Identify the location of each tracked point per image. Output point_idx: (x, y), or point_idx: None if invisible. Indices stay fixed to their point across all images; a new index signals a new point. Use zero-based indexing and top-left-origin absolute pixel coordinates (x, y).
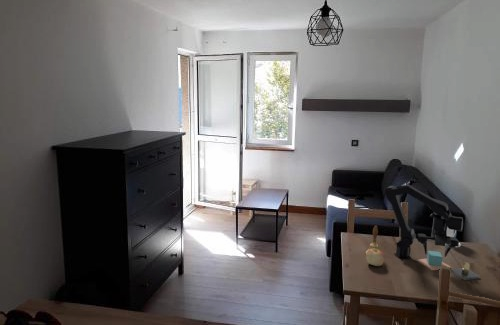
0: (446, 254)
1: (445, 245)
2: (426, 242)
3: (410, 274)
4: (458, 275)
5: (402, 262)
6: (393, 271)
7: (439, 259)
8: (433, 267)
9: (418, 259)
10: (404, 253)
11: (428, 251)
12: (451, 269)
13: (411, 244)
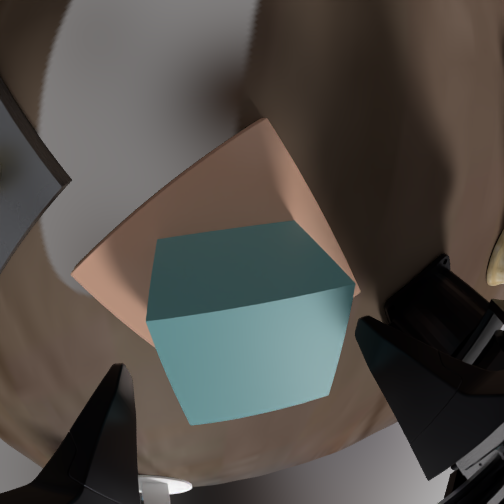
0: (102, 392)
1: (166, 477)
2: (493, 431)
3: (433, 14)
4: (9, 101)
5: (450, 204)
6: (491, 59)
7: (190, 280)
8: (251, 163)
9: (356, 293)
10: (451, 293)
11: (328, 382)
12: (53, 189)
13: (499, 346)
